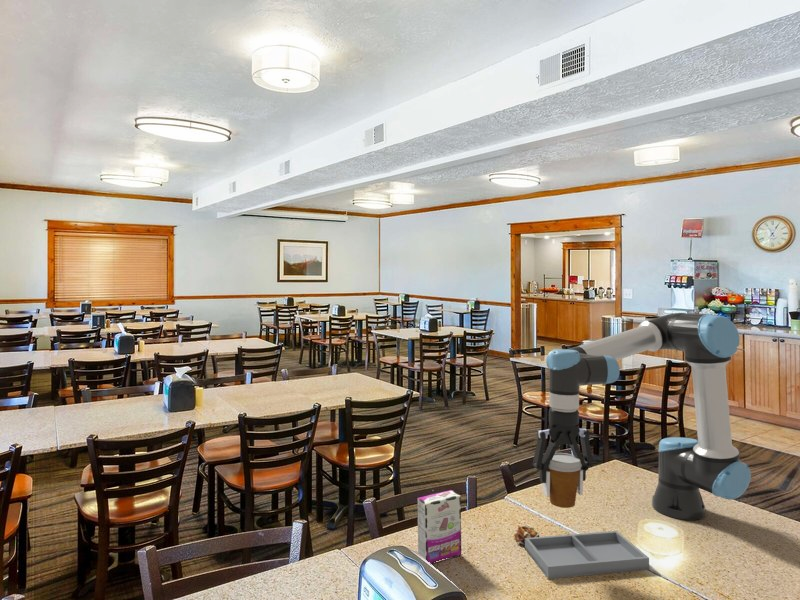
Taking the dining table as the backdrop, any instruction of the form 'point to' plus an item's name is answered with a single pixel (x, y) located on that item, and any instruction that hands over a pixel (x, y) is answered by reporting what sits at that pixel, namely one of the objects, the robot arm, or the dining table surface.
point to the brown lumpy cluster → (525, 534)
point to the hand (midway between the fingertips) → (562, 493)
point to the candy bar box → (439, 526)
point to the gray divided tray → (585, 554)
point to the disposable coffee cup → (564, 479)
